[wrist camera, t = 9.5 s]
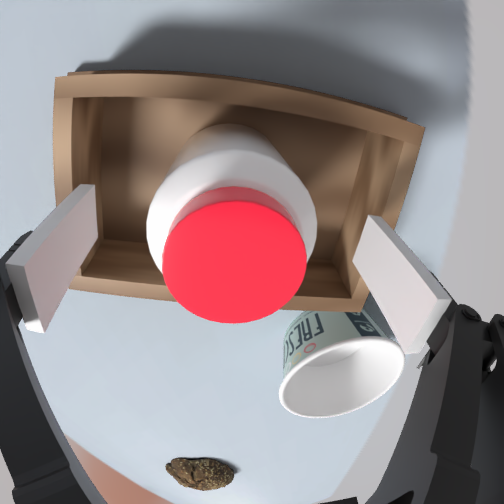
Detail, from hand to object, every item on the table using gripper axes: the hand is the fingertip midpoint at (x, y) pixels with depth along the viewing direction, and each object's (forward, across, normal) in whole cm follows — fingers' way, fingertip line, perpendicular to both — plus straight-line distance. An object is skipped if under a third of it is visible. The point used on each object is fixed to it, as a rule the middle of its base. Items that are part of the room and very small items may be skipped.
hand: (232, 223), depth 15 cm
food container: (+9, +12, -16) cm, 21 cm away
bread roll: (+8, 0, -54) cm, 54 cm away
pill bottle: (+8, 0, 0) cm, 8 cm away
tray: (+9, 0, 0) cm, 9 cm away
